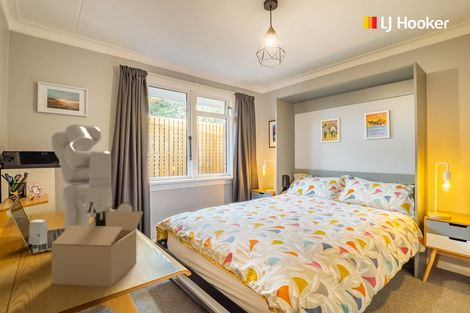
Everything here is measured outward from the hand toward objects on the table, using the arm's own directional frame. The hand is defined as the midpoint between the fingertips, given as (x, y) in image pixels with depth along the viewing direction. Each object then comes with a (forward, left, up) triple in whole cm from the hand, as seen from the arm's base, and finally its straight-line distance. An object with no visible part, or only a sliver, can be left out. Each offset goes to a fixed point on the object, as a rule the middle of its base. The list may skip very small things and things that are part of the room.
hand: (100, 228), depth 92 cm
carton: (0, -1, -17) cm, 17 cm away
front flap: (0, -6, -1) cm, 6 cm away
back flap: (0, +11, +1) cm, 11 cm away
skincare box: (-47, +22, -17) cm, 55 cm away
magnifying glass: (-8, +33, -17) cm, 38 cm away
